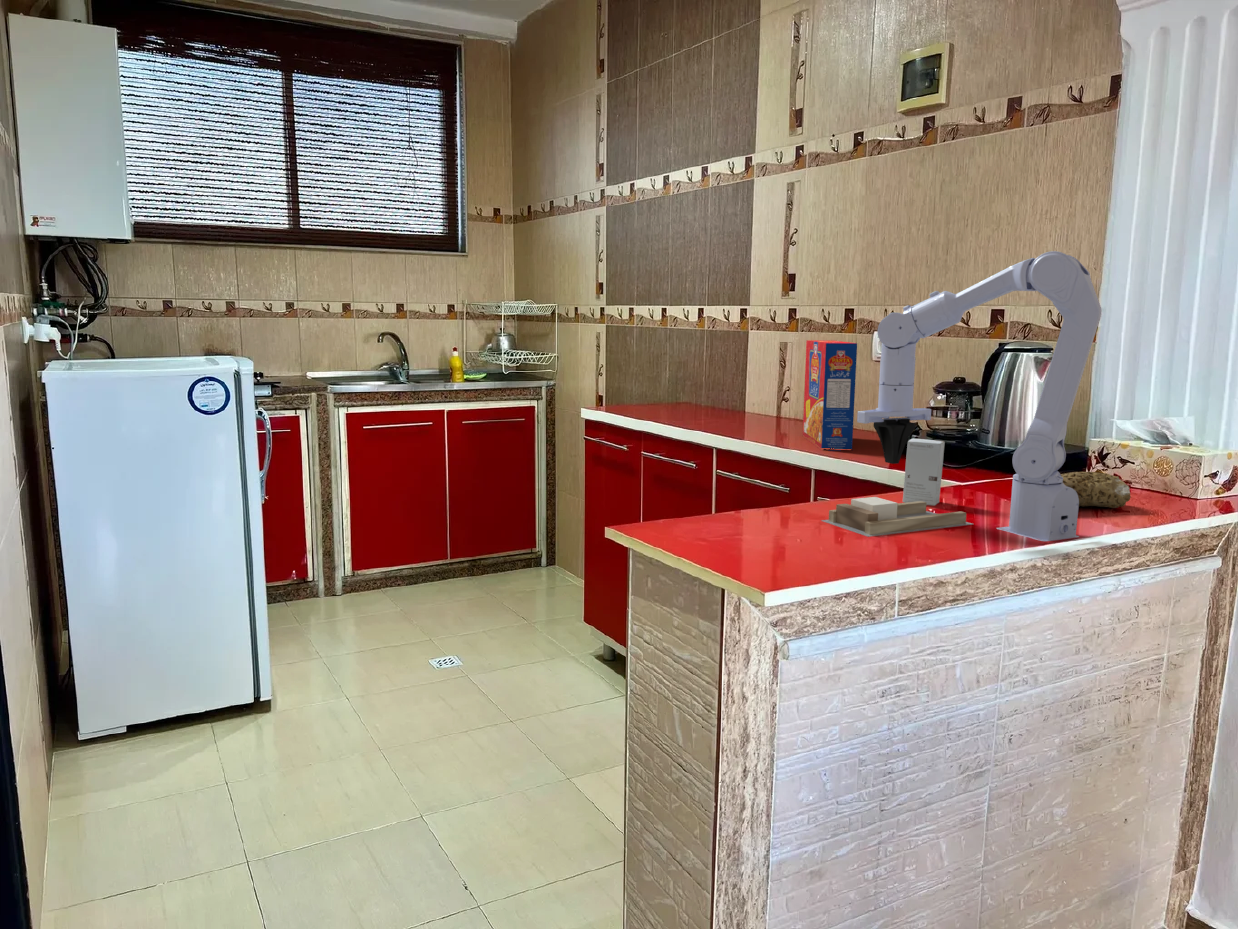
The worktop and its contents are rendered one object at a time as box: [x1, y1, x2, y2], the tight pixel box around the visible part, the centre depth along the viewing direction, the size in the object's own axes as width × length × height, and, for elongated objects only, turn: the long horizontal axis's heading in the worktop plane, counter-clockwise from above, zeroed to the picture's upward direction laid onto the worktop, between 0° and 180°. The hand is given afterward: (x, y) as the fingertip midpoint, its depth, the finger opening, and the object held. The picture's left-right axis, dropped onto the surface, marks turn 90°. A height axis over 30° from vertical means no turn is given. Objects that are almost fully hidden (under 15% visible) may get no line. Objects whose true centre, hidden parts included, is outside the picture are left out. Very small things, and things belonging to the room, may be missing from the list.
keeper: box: [850, 496, 898, 520], centre depth 146 cm, size 5×5×4 cm
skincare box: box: [902, 438, 946, 506], centre depth 164 cm, size 6×4×12 cm
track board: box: [820, 510, 973, 538], centre depth 148 cm, size 12×22×1 cm, turn 114°
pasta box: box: [802, 339, 858, 450], centre depth 244 cm, size 28×8×28 cm, turn 178°
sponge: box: [1060, 471, 1131, 509], centre depth 163 cm, size 13×8×20 cm
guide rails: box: [828, 501, 967, 535], centre depth 148 cm, size 10×20×3 cm, turn 114°
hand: (892, 462), depth 154 cm, fingers closed
